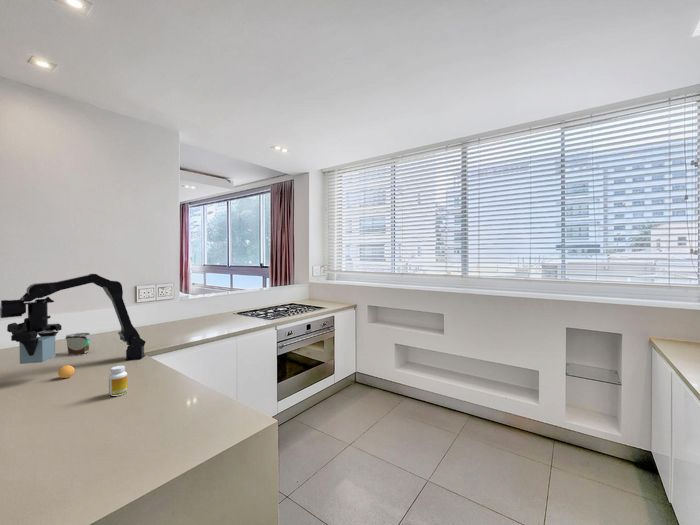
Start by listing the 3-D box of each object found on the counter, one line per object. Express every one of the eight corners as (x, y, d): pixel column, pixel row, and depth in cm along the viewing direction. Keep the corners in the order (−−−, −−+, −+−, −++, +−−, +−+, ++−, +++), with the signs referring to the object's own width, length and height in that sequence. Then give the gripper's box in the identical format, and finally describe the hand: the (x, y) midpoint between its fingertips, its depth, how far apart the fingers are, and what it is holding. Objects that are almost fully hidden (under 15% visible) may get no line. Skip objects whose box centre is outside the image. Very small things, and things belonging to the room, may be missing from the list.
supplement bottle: (131, 392, 115) (130, 365, 115) (116, 398, 110) (115, 370, 110) (120, 390, 117) (120, 364, 117) (105, 396, 112) (104, 369, 112)
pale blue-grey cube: (55, 356, 132) (55, 335, 132) (42, 362, 125) (42, 340, 125) (34, 358, 130) (33, 337, 130) (19, 363, 123) (19, 341, 123)
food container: (98, 351, 168) (97, 332, 168) (87, 354, 162) (86, 335, 162) (77, 350, 169) (76, 332, 169) (65, 354, 163) (65, 335, 163)
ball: (77, 374, 133) (77, 363, 133) (69, 379, 128) (69, 367, 128) (63, 376, 132) (63, 364, 132) (55, 380, 127) (55, 368, 127)
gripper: (31, 311, 135) (31, 348, 135) (-7, 319, 117) (-6, 361, 117) (62, 310, 137) (62, 346, 137) (29, 318, 119) (30, 359, 119)
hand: (38, 352), depth 128 cm, fingers closed on pale blue-grey cube, 7 cm apart
